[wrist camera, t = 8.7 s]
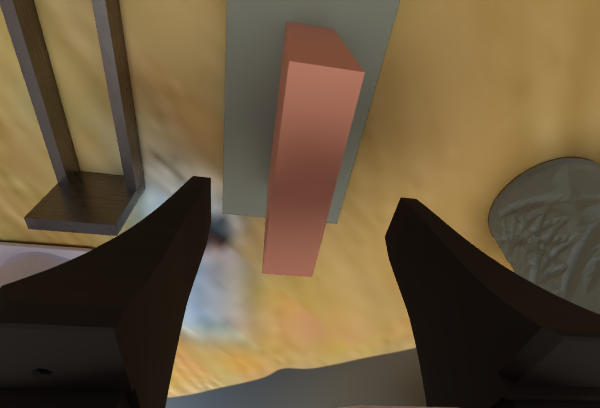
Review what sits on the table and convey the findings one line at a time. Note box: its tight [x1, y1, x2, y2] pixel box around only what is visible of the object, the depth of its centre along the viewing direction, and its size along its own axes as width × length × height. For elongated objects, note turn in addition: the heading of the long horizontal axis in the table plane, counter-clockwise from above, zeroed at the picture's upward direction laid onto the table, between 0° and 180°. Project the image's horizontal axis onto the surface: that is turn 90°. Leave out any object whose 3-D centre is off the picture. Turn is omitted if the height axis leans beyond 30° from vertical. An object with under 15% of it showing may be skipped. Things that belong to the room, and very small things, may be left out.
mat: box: [223, 0, 400, 224], centre depth 20 cm, size 16×8×1 cm, turn 171°
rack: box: [0, 0, 145, 236], centre depth 17 cm, size 14×5×5 cm, turn 171°
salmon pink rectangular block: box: [262, 21, 365, 277], centre depth 17 cm, size 10×2×8 cm, turn 171°
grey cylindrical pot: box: [488, 158, 600, 314], centre depth 21 cm, size 10×10×12 cm
